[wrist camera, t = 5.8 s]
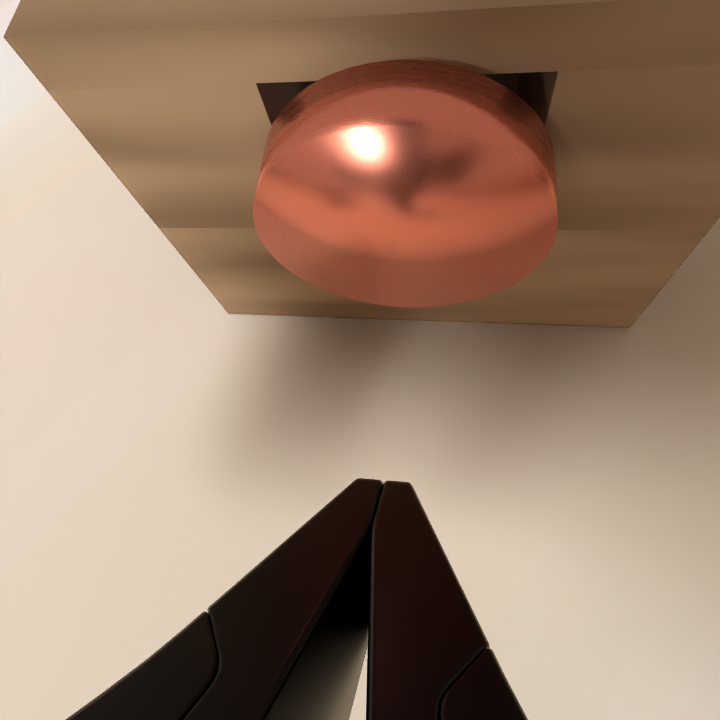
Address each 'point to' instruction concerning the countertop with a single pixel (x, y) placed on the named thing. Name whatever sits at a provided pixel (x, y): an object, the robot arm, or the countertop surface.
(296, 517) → the countertop surface
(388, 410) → the countertop surface
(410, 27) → the hitch block
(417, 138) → the steel pin
